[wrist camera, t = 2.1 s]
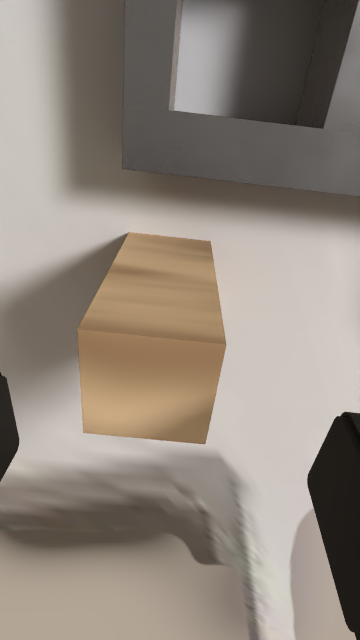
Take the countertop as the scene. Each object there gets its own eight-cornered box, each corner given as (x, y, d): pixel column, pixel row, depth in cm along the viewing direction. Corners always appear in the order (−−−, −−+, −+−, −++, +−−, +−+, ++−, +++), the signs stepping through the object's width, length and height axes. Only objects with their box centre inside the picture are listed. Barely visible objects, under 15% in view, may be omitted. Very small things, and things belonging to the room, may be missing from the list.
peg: (199, 311, 21) (205, 444, 13) (127, 304, 21) (83, 432, 13) (210, 241, 19) (226, 344, 10) (129, 232, 19) (77, 329, 10)
